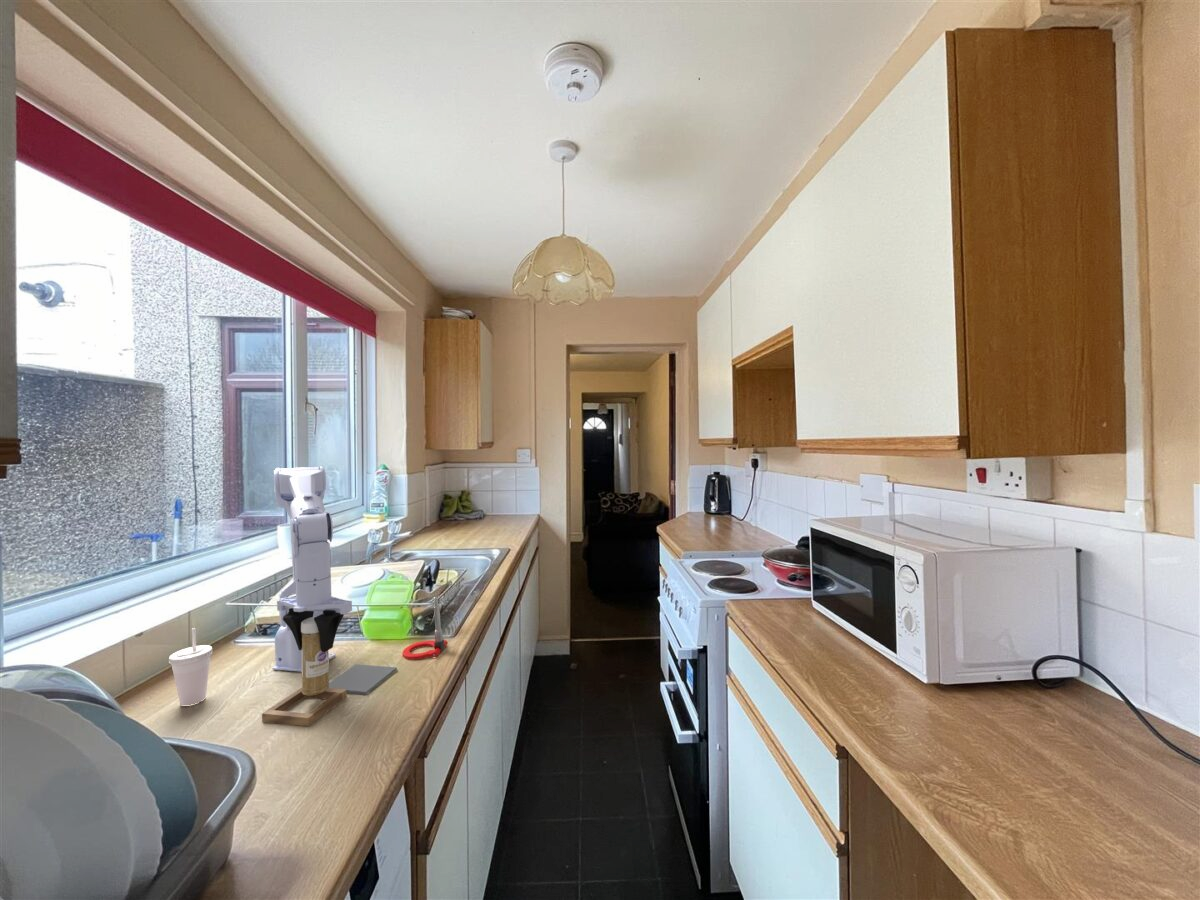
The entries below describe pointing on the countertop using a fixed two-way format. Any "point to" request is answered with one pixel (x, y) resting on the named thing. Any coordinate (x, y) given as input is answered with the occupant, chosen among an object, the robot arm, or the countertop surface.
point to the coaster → (361, 678)
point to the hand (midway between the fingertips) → (315, 648)
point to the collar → (303, 719)
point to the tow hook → (437, 644)
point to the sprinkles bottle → (313, 660)
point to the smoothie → (191, 671)
